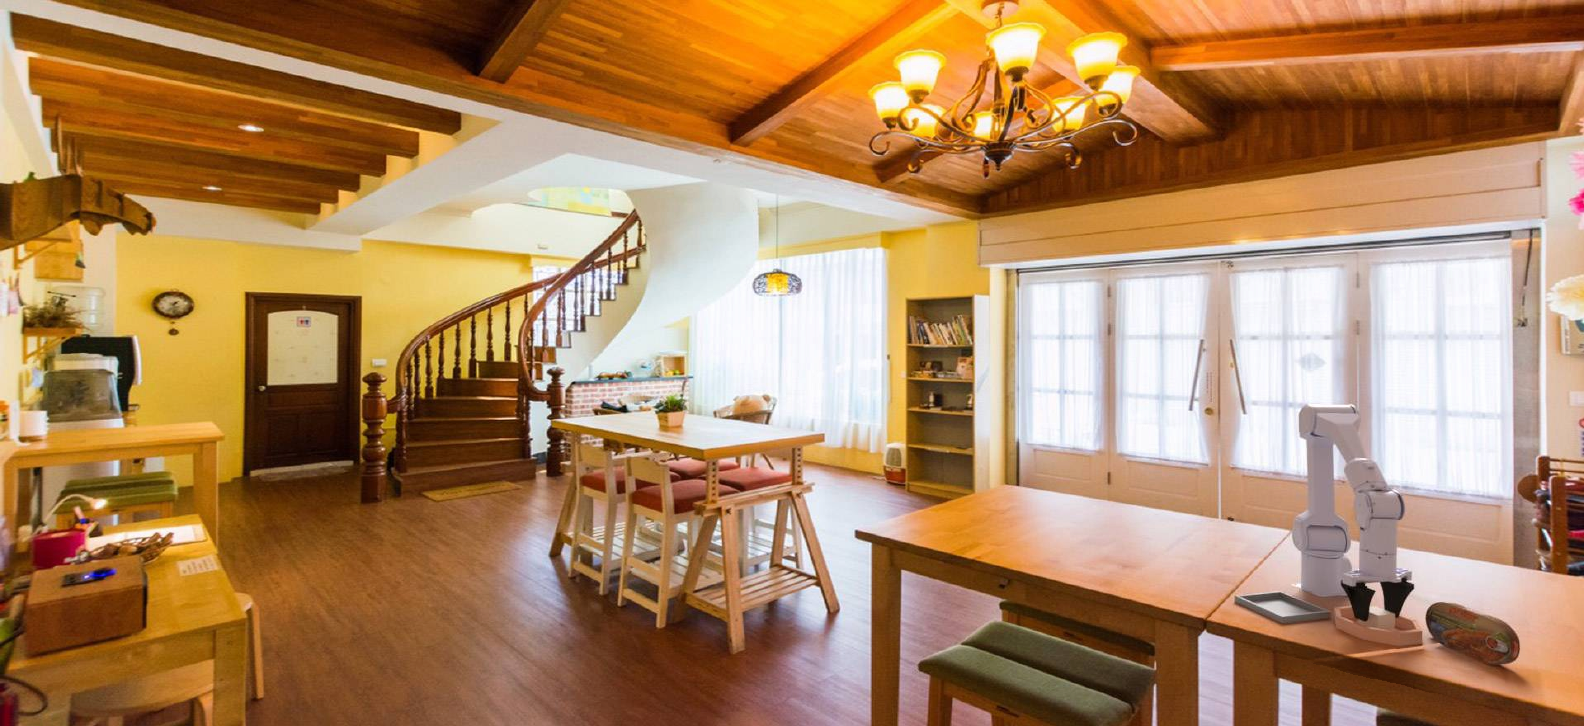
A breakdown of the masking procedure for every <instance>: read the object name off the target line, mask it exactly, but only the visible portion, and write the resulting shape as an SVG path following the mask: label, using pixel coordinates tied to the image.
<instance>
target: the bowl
mask: <svg viewBox="0 0 1584 726" xmlns="http://www.w3.org/2000/svg"><path fill="white" fill-rule="evenodd" d="M1333 612H1334V613H1333V619H1334V620H1333V621H1334V624H1335V628H1336V629H1337V630H1340V631H1341V632H1344V633H1347V634H1349V635H1351V636H1353V637H1356V638H1358V639H1361V640H1362V641H1363V640H1364V641H1369V642H1373V643H1374V642H1375V643H1380V644H1385V645H1391V646H1397V647H1395V649H1397V650H1402V649H1403V650H1404V649H1409V648H1419V647H1422V646H1423V644H1422V643H1423V629H1422V627H1421V625H1420V624H1419V622H1418V621H1417V620H1416V619H1412V618H1411V617H1408V616H1406V615H1405V616H1404V615H1402V614H1400V615H1399V617H1398V618H1395V631H1390V630H1384V629H1378V628H1373V627H1367V626H1363V625H1361V624H1358V619H1357V618H1355V617H1354V613H1353V610H1352V606H1351V605H1346V606H1345V605H1343V606H1337V607H1336V606H1335V607H1334V608H1333Z"/></svg>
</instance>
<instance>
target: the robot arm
mask: <svg viewBox="0 0 1584 726" xmlns="http://www.w3.org/2000/svg"><path fill="white" fill-rule="evenodd" d="M1298 412H1299V413H1298V433H1299V437H1300V438H1301V439H1303V440H1305V441H1306V468H1307V470H1306V471H1307V472H1306V473H1307V506H1308V507H1307V509H1306V510H1304V511H1303V512H1302V513H1300V514H1298V515H1296V516H1295V517H1294V520H1293V528H1292V531H1291V538H1292V544H1293V545H1294V547H1295V548H1296V550H1297V551H1299V552H1300V553H1301V554H1300V555H1301V556H1300V557H1301V558H1300V583H1292V584H1291V586H1293V587H1295V588H1297V589H1299V590H1300V589H1301V590H1303V591H1306V592H1308V593H1310V594H1313V595H1315V596H1318V597H1323V598H1325V597H1333V596H1342V597H1347V598H1348V600H1349V603H1350V606H1352V610H1353V613H1354V617H1355V618H1357V619H1359V620H1362V621H1367V620H1368V617H1369V609H1370V607H1371V603H1372V600H1373V597H1374V595H1375V593H1376V592H1377V591H1376V590H1375V589H1373V588H1369V587H1368V586H1367V585H1366V584H1374V583H1379V584H1380V587H1381V590H1382V596H1383V605H1384V606H1383V609H1384V610H1386V611H1389V612H1392V613H1394V614H1395V618H1398V617H1399V615H1401V612H1402V608H1403V607H1404V605H1405V603H1406V600H1407V599H1408V597H1409V596H1410V594H1411V593H1412V592H1413V591H1414V590H1415V584H1414V583H1412V582H1409V581H1412V580H1413V578H1412V577H1413V576H1412V575H1413V571H1412V570H1409V569H1406V568H1403V567H1397V560H1398V554H1397V553H1398V551H1397V550H1398V521H1401V520H1403V518H1404V517H1405V513H1406V504H1405V500H1404V498H1403V495H1402V494H1401V493H1400V492H1399V491H1398V490H1396V489H1395V488H1394V487H1392V486H1389V484H1388V483H1387V481H1386V479H1385V477H1384V475H1383V473H1382V471H1381V470H1380V469H1381V468H1380V467H1379V465H1378V464H1377V462H1376V461H1374V460H1372V459H1368V457H1367V454H1366V452H1365V449H1364V446H1363V443H1362V441H1361V438H1360V435H1359V433H1358V432H1359V431H1360V426H1361V414H1360V411H1359V409H1358V408H1357V407H1356V406H1355V405H1354V404H1349V403H1348V404H1310V403H1305V404H1304V405H1303V406H1302V407H1301V409H1300V411H1298ZM1334 445H1335V446H1336V449H1337V450H1338V452H1339V453H1340V455H1341V456H1342V458H1343V459H1344V461H1345V463H1346V465H1345V466H1344V467H1343V472H1344V475H1345V477H1346V479H1347V481H1348V483H1349V485H1350V487H1351V489H1352V492H1353V494H1354V499H1353V509H1354V512H1355V515H1356V516H1355V517H1356V523H1357V526H1359V547H1358V548H1359V553H1358V558H1359V559H1358V568H1357V569H1353V565H1352V563H1351V560H1350V559H1349V557H1348V556H1346V555H1345V554H1347V553H1348V552H1349V551H1350V549H1351V544H1352V539H1351V535H1350V532H1349V524H1348V522H1347V521H1346V520H1345V519H1344V518H1342V517H1341V516H1339V515H1338V514H1336V509H1335V506H1336V504H1335V474H1334V473H1335V471H1334V470H1335V467H1334V465H1335V464H1334V462H1335V461H1334Z"/></svg>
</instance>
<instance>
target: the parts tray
mask: <svg viewBox="0 0 1584 726" xmlns="http://www.w3.org/2000/svg"><path fill="white" fill-rule="evenodd" d="M1234 603H1236V604H1238V605H1240V606H1243V607H1244V608H1247V609H1249V610H1251V611H1254V612H1255V613H1257V614H1260V615H1262V616H1265V617H1267V618H1269V619H1271V620H1273V621H1275V622H1278V623H1279V624H1281V625H1282V624H1293V623H1300V622H1308V621H1309V622H1310V621H1319V620H1327V619H1328V620H1329V619H1332V616H1331V615H1332V611H1331V610H1328V609H1326V608H1324V607H1321V606H1319V605H1317V604H1314V603H1311V602H1308V601H1306V600H1303V599H1301V598H1299V597H1296V596H1294V595H1292V594H1289V593H1287V592H1284V591H1282V590H1275V591H1265V592H1256V593H1247V594H1246V593H1245V594H1238V595H1234Z"/></svg>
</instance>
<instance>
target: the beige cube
mask: <svg viewBox="0 0 1584 726" xmlns="http://www.w3.org/2000/svg"><path fill="white" fill-rule="evenodd" d="M1358 624H1361V625H1363V626H1367V627H1373V628H1378V629H1384V630H1390V631H1395V614H1394V613H1392V612H1389V611H1386V610H1385V609H1384V608H1380V607H1378V606H1376V605H1375V606H1374V605H1373V606H1372V605H1370V609H1369V617H1368V620H1367V621H1362V620H1359V619H1358Z"/></svg>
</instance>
